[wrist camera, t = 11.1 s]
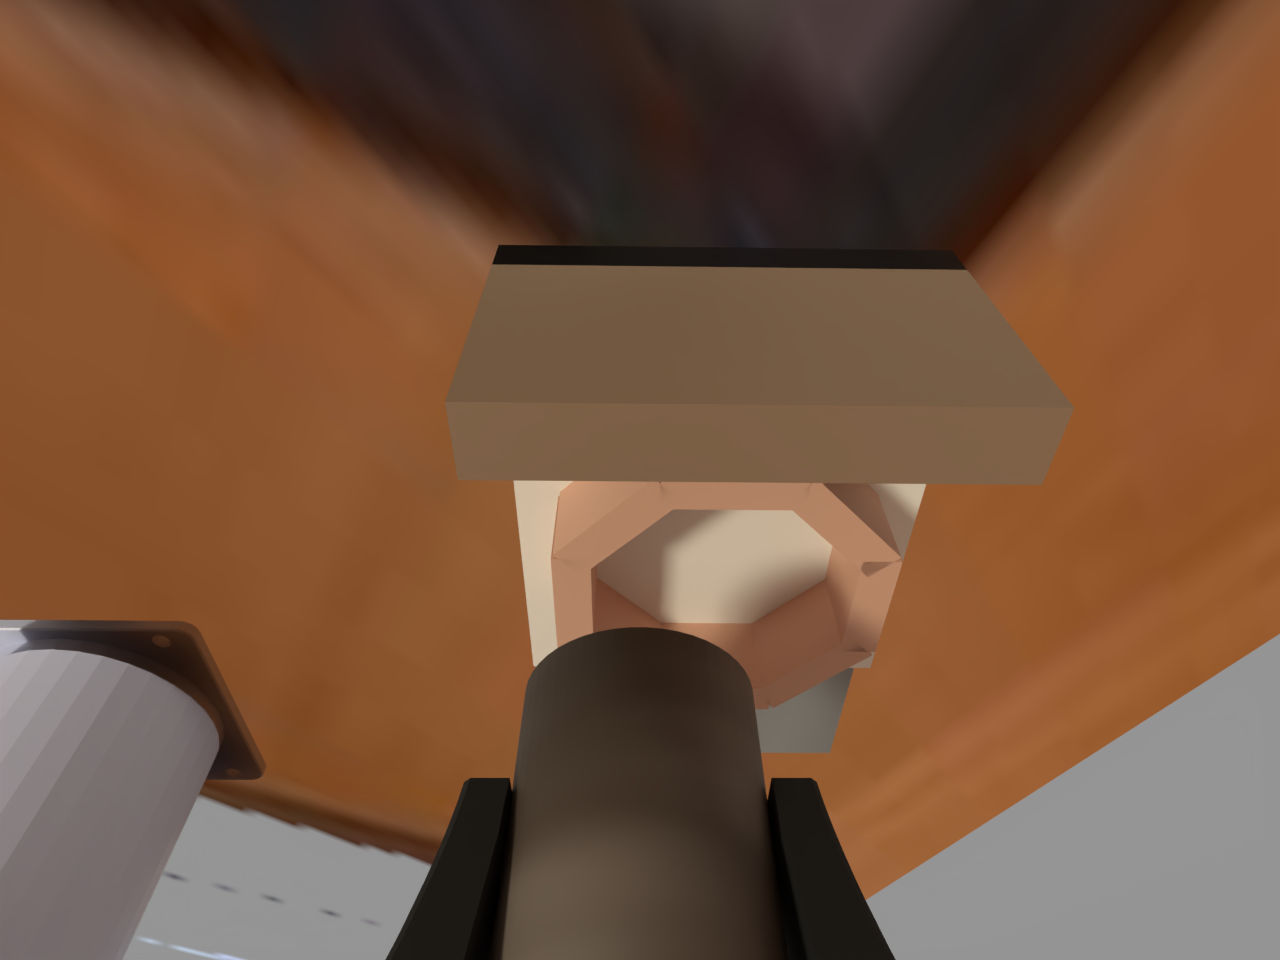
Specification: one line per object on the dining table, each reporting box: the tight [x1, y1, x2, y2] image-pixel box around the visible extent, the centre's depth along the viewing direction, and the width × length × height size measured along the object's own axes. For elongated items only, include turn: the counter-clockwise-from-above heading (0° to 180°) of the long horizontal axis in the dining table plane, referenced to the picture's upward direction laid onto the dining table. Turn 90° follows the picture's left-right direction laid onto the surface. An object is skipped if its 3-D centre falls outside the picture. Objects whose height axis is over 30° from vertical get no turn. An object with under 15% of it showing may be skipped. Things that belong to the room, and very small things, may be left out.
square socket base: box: [513, 481, 926, 709], centre depth 18 cm, size 9×9×4 cm
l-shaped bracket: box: [445, 245, 1074, 753], centre depth 20 cm, size 10×17×6 cm, turn 179°
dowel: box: [489, 627, 788, 960], centre depth 11 cm, size 4×4×7 cm
